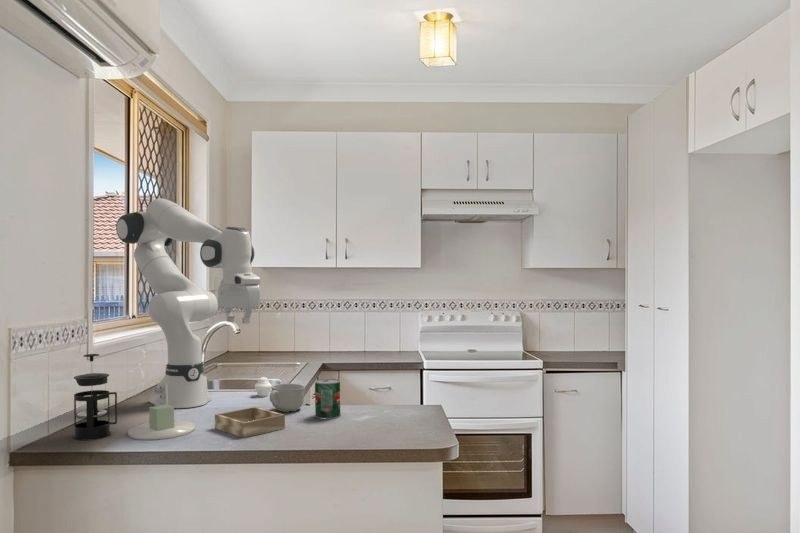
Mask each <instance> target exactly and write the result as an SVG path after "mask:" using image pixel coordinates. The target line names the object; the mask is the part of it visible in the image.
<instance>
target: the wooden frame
mask: <svg viewBox="0 0 800 533" xmlns="http://www.w3.org/2000/svg"><path fill="white" fill-rule="evenodd" d="M253 420H254V421H253ZM248 421H249V422H248ZM284 428H285V429H286V415H285V414H284V413H281V412H276V411H272V410H268V409H264V408H260V407H258V406H252V407H248V408H247V407H246V408H242V409H237V410H232V411H226V412H221V413H216V414H214V429H216V430H219V431H223V432H225V433H228V434H231V435H234V436H237V437H241V438H245V437H246V438H249V436H250V437H253V435H254V436H259V435H262V434H261V433H263V434H267V433H266V432H268V433H271V432H270V431H272V432H275V430H276V431H279V430H280V429H281V430H285V429H284ZM258 434H259V435H258Z"/></svg>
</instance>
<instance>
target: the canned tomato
mask: <svg viewBox="0 0 800 533" xmlns="http://www.w3.org/2000/svg"><path fill="white" fill-rule="evenodd" d="M314 383H315V384H314V402H315V404H314V407H315V410H314V411H315V412H314V415H315V416H316V417H318V418H317V419H320V418H326V419H325V420H332V419H331V418H333V419H337V417H338V418H340V417H341V380H340V379H336V378H321V379H317V380H315V381H314Z"/></svg>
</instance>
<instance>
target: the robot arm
mask: <svg viewBox="0 0 800 533" xmlns="http://www.w3.org/2000/svg"><path fill="white" fill-rule="evenodd" d="M115 229H116V230H115V231H116V234H117V237H118V238H119V240H120V241H121V242H123V243H125V244H131V245H132V244H139V245H137V246H136V247H135V249H134V250H133V251H134V252H133V258H134V261H135V263H136V266H137V268H138V270H139V271H140V273H141V275H142V277H143V278H144V280H145V281H146V283H147V284H148V285H149V287H150V288H151V290H152V291H153V292H154V293H155V295H154V296H152V297H151V298H150V300H149V303H148V306H147V307H148V314H149V316H150V318H151V320H152V321H153V322H154V323H156V324H157V325H158V326H159V327H160V328H161V330H162V331H163V334H164V336H165V340H166V345H167V346H166V348H167V364H165V366H166V367H165V372H164V373H165V375H164V376H163V378H161V380H160V381H159V382H158V383H157V385H156V386H155V387H154V394H155V396H154V397H152V398H149V399H148V401H149V403H150V404H152V405H153V406H160V405H165V404H166V405H170V406H173V407H174V409H187V408H195V407H201V406H204V405H206V404H207V403H208V402H210V401H211V400H212V397H211V396H209V390H208V381H207V379H208V378H207V376H205V375H204V374H203V373H204V368H205V366H204V362H203V355H202V354H203V347H202V339H201V337H199V336H198V335H196V334H194V333H193V332H192V329H191V327H190V326H191V325H190V323H194V322H203V321H205V320H208V319H211V318H213V317H214V316H216V313H217V311H218V310H219V309H218V307H220V308H224V313H225V316H226V322H228V323H232V322H235V316H234V315H233V310H234V309H241V310H243V313H244V314H243V317H241V320H242V324H244V325H245V324H246V325H247V324H250V321H251V319H250V318H251V315H252V313H253V310H256V309H259V307H260V305H261V289H260V285H261V277H259V276H258V275H256V274H255V273H254V272H252V271H253V268H252V263H253V261H254V258H255V249H254V246H253V244H252V239H251V234H250V231H249V230H248V229H246V228H243V227H237V226H227V227H224V228H223V230H222V229H220V228H219V227H216V226H215V225H213V224H211V223H209V222H207V221H205V220H204V219H201V218H200V217H198V216H196V215H195V214H193V213H192V212H190V211H189V210H187V209H186V208H184V207H182V206H181V205H179V204H177V203H176V202H174V201H172V200H168V199H167V198H160V197H159V198H156V199H153V200H152V201H151V202H150V203H149V204H148V205H147V208H146V211H142V212H141V211H139V212H138V211H134V212H130V213H125V214H122V215H120V216H119V217H118V220H117V221H116V225H115ZM173 241H177V242H184V243H185V242H186V243H200V244H201V246H200V251H199V255H200V260H201V263H202V264H203V265H204V266H206V268H211V269H222V279H221V281H220V283H219V286H218V288H217V297H216V295H215V294H214V293H213V292H211V291H208V290H206V289H203V288H202V287H200V286H199V285H197V284H195V283H194V282H193V281H192V280H190V279H189V278H187V277H186V276H185V275H184V274H183V273H182V271H181V270H180V269H179V268H178V266H176V264H175V262H174V261H173V260H172V258H171V257H170V255H169V254H168V253H167V251H166V249H165V247H169V246H171V245H172V244H173Z"/></svg>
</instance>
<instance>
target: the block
mask: <svg viewBox="0 0 800 533" xmlns="http://www.w3.org/2000/svg"><path fill="white" fill-rule="evenodd" d="M148 410H149V411H148V412H149V414H148V415H149V418H148V419H149V422H148V423H150V428H151V429H153V430H156V431H160V430H165V429H170V428H174V420H175V408H174V407H173V406H170V405H166V404H165V405H160V406H155V405H153V406H149V408H148Z"/></svg>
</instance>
